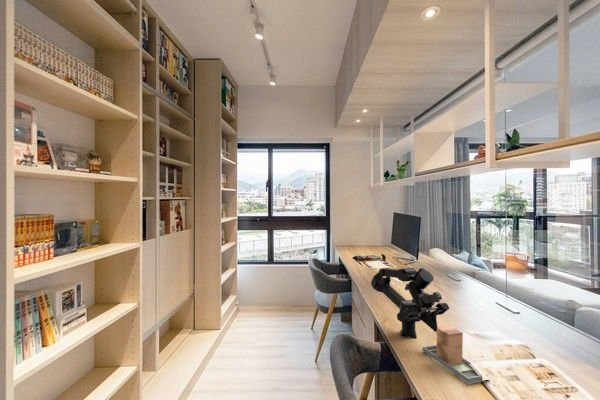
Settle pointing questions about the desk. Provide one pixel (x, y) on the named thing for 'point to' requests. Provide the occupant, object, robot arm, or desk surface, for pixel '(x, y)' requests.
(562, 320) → the desk surface
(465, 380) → the trap box
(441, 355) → the terracotta block
